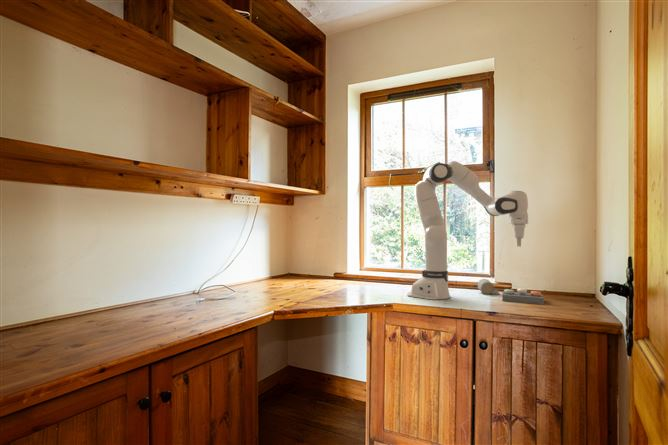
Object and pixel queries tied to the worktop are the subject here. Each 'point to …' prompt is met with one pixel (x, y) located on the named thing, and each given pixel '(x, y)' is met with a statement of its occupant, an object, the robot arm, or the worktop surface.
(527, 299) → the button panel
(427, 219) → the robot arm
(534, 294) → the terracotta button
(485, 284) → the ceramic mug
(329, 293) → the worktop surface
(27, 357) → the worktop surface
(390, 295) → the worktop surface
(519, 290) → the ivory button
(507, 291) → the sage button
